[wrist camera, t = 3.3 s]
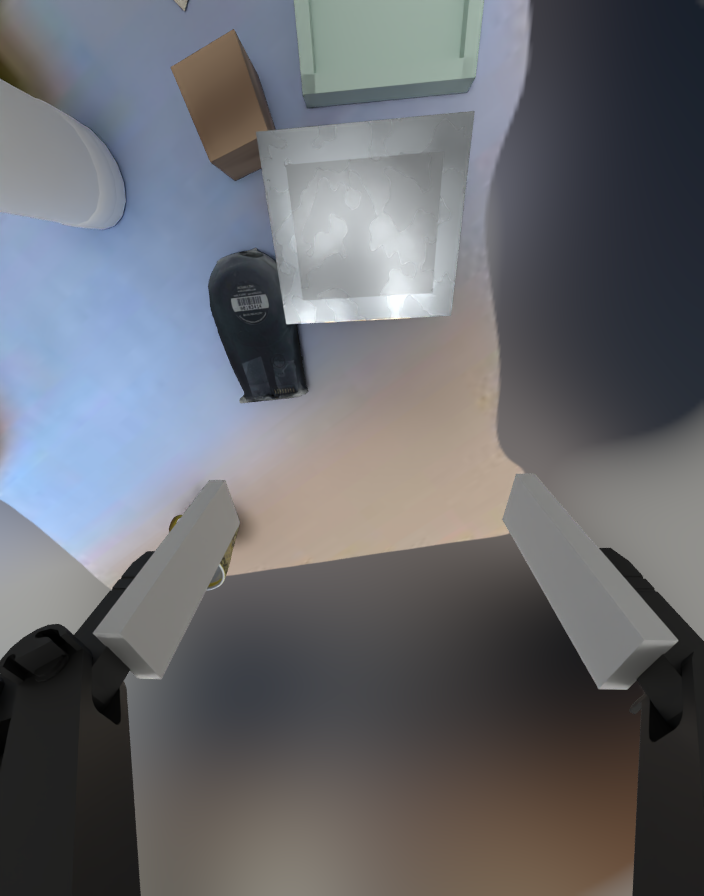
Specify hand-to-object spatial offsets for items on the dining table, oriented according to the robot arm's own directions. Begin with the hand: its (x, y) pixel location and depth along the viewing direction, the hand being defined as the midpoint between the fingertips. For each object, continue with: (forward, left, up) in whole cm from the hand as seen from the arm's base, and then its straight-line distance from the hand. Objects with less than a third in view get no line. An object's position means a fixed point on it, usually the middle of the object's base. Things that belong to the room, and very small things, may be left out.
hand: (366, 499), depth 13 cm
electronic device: (-4, -12, -25) cm, 28 cm away
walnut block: (-20, -10, -24) cm, 33 cm away
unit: (-11, 0, -24) cm, 27 cm away
